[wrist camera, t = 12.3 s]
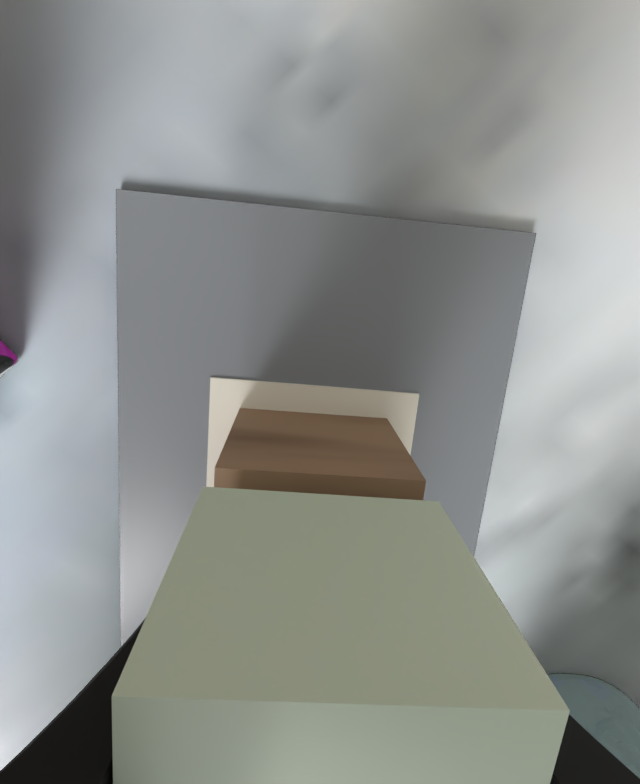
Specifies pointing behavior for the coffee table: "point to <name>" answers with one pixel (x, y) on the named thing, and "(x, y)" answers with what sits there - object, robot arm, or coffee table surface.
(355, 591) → the sage block
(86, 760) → the robot arm
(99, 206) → the coffee table surface
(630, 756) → the green plant pot
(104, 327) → the coffee table surface
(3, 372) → the candy bar box
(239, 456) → the walnut block
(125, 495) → the board
